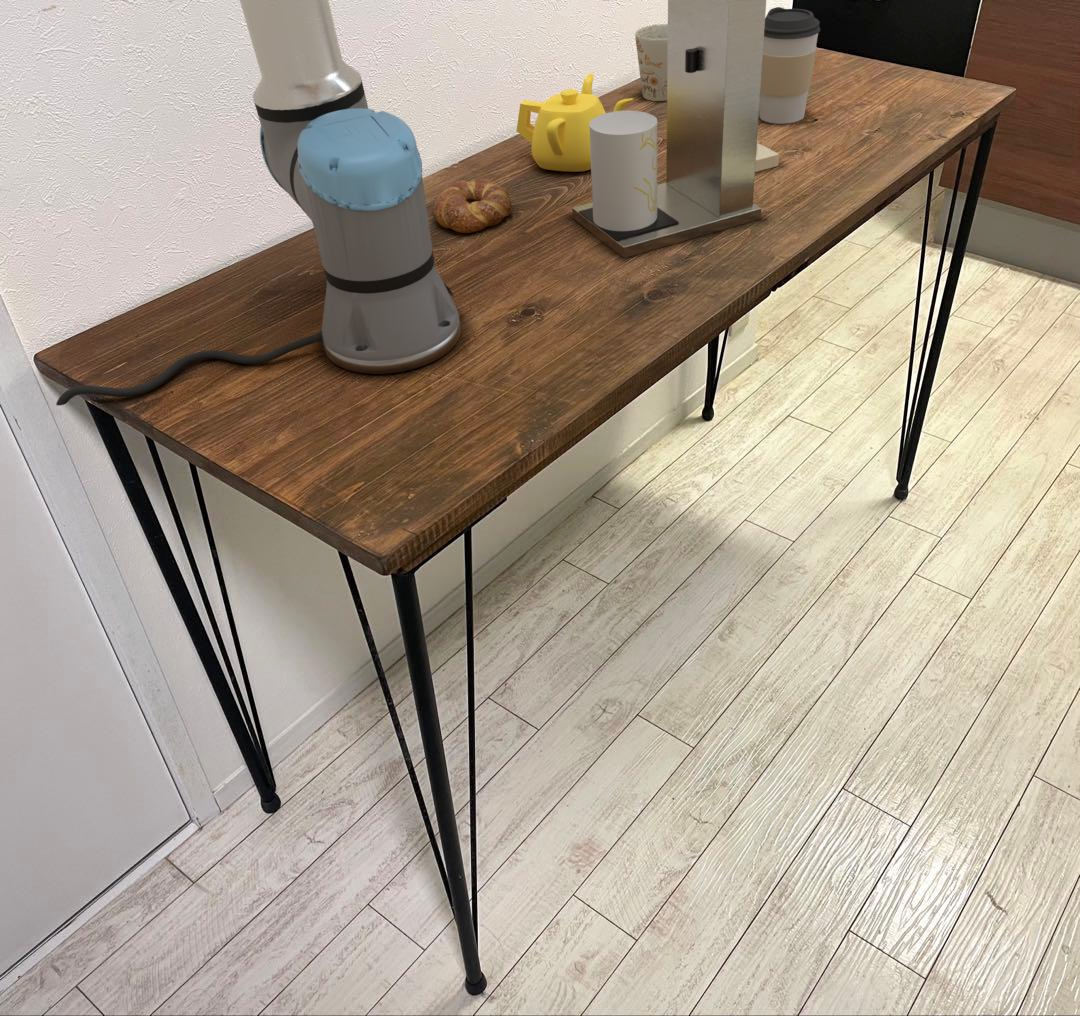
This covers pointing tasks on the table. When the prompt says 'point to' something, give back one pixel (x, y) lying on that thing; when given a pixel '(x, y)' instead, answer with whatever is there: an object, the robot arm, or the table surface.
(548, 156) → the teapot
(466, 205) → the pretzel
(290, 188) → the robot arm
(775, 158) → the cream triangular wedge
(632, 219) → the cup
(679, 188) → the coffee machine
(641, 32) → the mug
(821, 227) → the table surface
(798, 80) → the coffee cup
